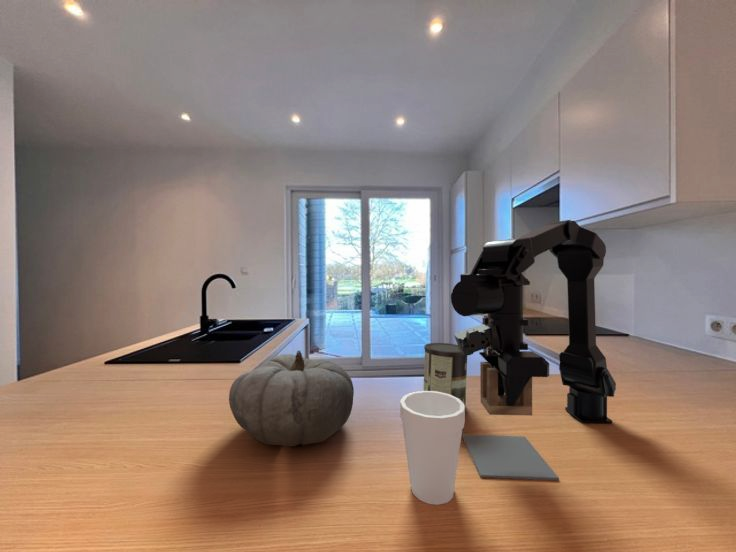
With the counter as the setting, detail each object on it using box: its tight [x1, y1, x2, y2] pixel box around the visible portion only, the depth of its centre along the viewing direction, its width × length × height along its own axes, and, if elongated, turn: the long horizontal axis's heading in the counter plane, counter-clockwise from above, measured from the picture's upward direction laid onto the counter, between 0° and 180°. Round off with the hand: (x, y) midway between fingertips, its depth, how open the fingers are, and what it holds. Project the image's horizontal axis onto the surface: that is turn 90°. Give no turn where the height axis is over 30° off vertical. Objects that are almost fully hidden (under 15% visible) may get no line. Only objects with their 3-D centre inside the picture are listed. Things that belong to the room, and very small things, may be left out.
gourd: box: [228, 350, 355, 447], centre depth 64 cm, size 25×25×17 cm
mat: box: [461, 434, 560, 481], centre depth 54 cm, size 12×12×1 cm
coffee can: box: [423, 342, 468, 410], centre depth 74 cm, size 10×10×14 cm
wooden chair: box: [479, 361, 533, 416], centre depth 54 cm, size 7×5×8 cm
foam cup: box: [399, 390, 466, 506], centre depth 46 cm, size 10×9×13 cm
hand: (505, 399), depth 54 cm, fingers closed on wooden chair, 4 cm apart
